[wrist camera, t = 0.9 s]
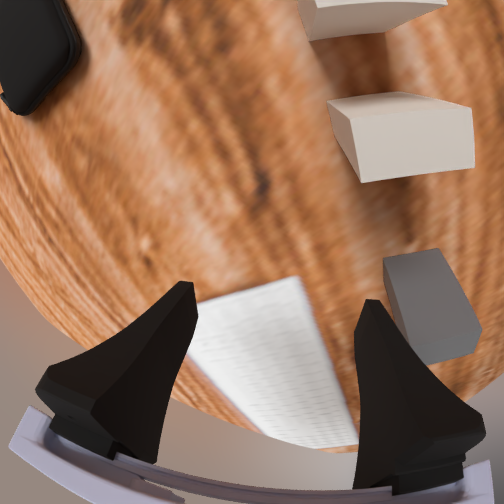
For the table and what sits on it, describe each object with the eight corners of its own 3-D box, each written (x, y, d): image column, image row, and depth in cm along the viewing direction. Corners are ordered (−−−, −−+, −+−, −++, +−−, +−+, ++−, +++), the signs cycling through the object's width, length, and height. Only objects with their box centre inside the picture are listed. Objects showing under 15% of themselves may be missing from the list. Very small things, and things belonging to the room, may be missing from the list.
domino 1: (384, 32, 13) (447, 4, 5) (308, 41, 14) (317, 8, 7) (373, 0, 12) (426, -48, 4) (297, 8, 13) (295, -46, 6)
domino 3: (436, 271, 22) (473, 352, 14) (383, 281, 23) (406, 369, 15) (438, 248, 20) (482, 329, 13) (382, 257, 22) (410, 347, 14)
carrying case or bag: (-8, 29, 13) (28, 126, 20) (-28, 32, 11) (6, 135, 17) (52, -44, 9) (97, 54, 16) (30, -48, 7) (72, 55, 13)
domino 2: (405, 126, 16) (474, 167, 9) (334, 136, 17) (361, 183, 10) (399, 91, 15) (471, 108, 7) (326, 100, 16) (349, 119, 9)
